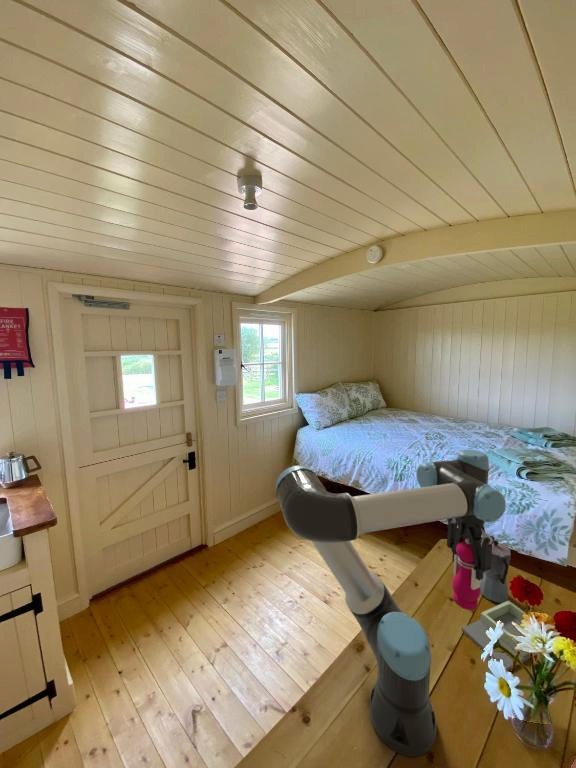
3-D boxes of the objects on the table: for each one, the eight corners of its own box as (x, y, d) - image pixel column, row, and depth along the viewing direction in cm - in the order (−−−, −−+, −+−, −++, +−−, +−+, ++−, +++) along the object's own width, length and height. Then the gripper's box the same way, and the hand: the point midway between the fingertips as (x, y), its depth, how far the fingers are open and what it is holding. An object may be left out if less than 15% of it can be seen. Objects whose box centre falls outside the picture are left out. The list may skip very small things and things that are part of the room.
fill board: (505, 671, 89) (506, 658, 89) (461, 630, 102) (462, 619, 102) (552, 645, 96) (554, 633, 96) (506, 610, 109) (507, 599, 109)
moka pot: (497, 580, 123) (500, 531, 121) (522, 613, 108) (526, 558, 105) (470, 579, 124) (473, 530, 122) (491, 612, 109) (495, 557, 106)
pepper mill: (453, 608, 93) (457, 543, 90) (449, 590, 100) (452, 529, 97) (482, 614, 91) (486, 547, 88) (475, 595, 97) (479, 533, 95)
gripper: (512, 518, 84) (506, 599, 87) (453, 489, 101) (450, 558, 104) (491, 524, 82) (486, 608, 84) (435, 494, 99) (432, 564, 101)
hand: (466, 580), depth 94 cm, fingers closed on pepper mill, 5 cm apart
